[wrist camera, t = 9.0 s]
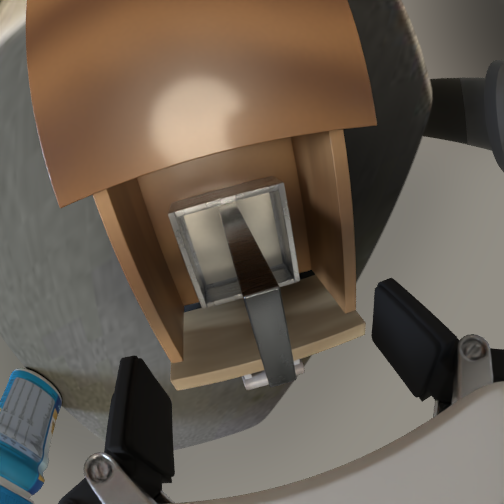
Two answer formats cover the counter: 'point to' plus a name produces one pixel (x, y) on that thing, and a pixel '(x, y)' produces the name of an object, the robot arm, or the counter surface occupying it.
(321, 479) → the robot arm
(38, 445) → the beverage bottle
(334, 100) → the cabinet
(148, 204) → the drawer
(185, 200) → the silver open box
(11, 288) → the counter surface
